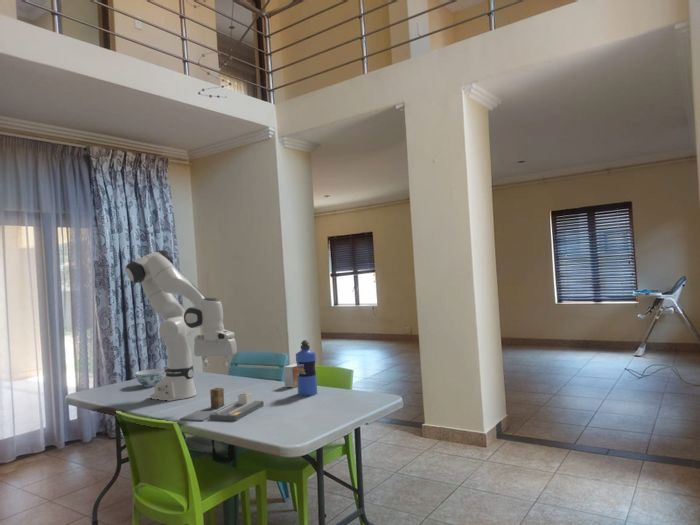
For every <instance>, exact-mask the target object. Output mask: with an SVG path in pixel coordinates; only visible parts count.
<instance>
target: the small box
mask: <svg viewBox="0 0 700 525" xmlns="http://www.w3.org/2000/svg"><path fill="white" fill-rule="evenodd" d="M283 373H284V374H283V377H284V378H283V379H284V388H287V387H292V388H291V389H294V388H298V384H297V373H298V368H297V363H292V364H289V365H286V366H283Z"/></svg>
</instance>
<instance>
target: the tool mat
mask: <svg viewBox="0 0 700 525" xmlns="http://www.w3.org/2000/svg"><path fill="white" fill-rule="evenodd" d="M214 412H215V411H208V410H207V411H205V410H196V411H193V412H191V413H189V414H187V415H184V416H182V417H180V418H179V421H188V420H190V421H191V422H192V421H193V422H204V420H205V421H206V419H207V420H208V418H209V419H210V414H212V413H214Z"/></svg>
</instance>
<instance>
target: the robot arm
mask: <svg viewBox="0 0 700 525" xmlns="http://www.w3.org/2000/svg"><path fill="white" fill-rule="evenodd" d="M125 274H126V276H127V278H128V279H129V280H130V281H131V282H132V283H134V284H139V283H141V286H142V289H143V292H144V294H145V296H146V298H147V300H148V302H149V303H150V305H151V306H152V308H153V310H154V312H155V313H156V314H157V315H159V316H160V317H161V318H162V319H163V322H161V324H160V325H159V329H158V333H159V335H160V336H161V338H162V339H163V341H164V344H165V348H166V352H167V353H166V354H167V364H168V365H167V367H168V368H166V369H164V373H165V376H163V377H162V379H161V380H160V381H159V382H158V383H157V384H156V386H154V393H153V394H151V395H150V396H149V399H150V398H152V399H153V400H157V399H159V400H158V401H165V400H167V401H166V402H169V401H170V402H171V401H176V400H183V399H189V398H192V397H195V396H196V395H198V393H197V391H196V386H195V379H194V365H193V356H192V348H191V347H190V345H189V342H188V340H187V337H189V336H190V335H192V334H193V333H194V332H195V330H196V329H198V328H202V330H203V334H198V335H196V336H195V337H194V340H193V341H194V347H193V352H194V353H193V355H194V356H195V357H201V360H202V362H203V365H204V367H210V361H208V357H223V359H224V361H222V367H228V364H229V363H228V362H229V360H230V357H233V356H236V354H237V352H238V348H237V347H238V346H237V341H236V339H235V335H236V334H235V332H233V331H230V330H227V329H225V326H224V323H223V322H224V310H223V304H222V302H221V300H220V299H219V298H217V297H207V296H205V295H204V294H203V293H202V292H201V291H200V290H199V289H198V288H197V287H196V285H194V284H193V283H192V282H191V281H190V280H188V279H187V278H185V276H183V274H182V273H180V271H179V270H178V269H177V268H176V266H175V265H174V260H173V257H172V255H171V254H170V252H168V251H167V250H165V249H163V250H161V249H160V250H157V251H155V252H151V253H149V254H146V255H144V256H141V257H140V258H137V259H136V260H134V261H133V260H132V261H130V262H129V263H128V264H126V267H125ZM175 295H177V296H181V297H184V298H186V299H188V300H189V301H190V303H192V304H193V306H191V307H188V308H186V310H185V309H184V308H183V306H182V305H181V304H180V303H179V302H178V300H177V299H176V297H175Z"/></svg>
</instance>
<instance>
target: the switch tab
mask: <svg viewBox="0 0 700 525" xmlns="http://www.w3.org/2000/svg"><path fill="white" fill-rule="evenodd" d="M237 396H238V397H237V398H238V399H237V401H239V405H245V404H247V403H249V402H251V401H253V399H252V392H248V391H247V392H246V391H245V392H242V393H239V394H238V395H237Z"/></svg>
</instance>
